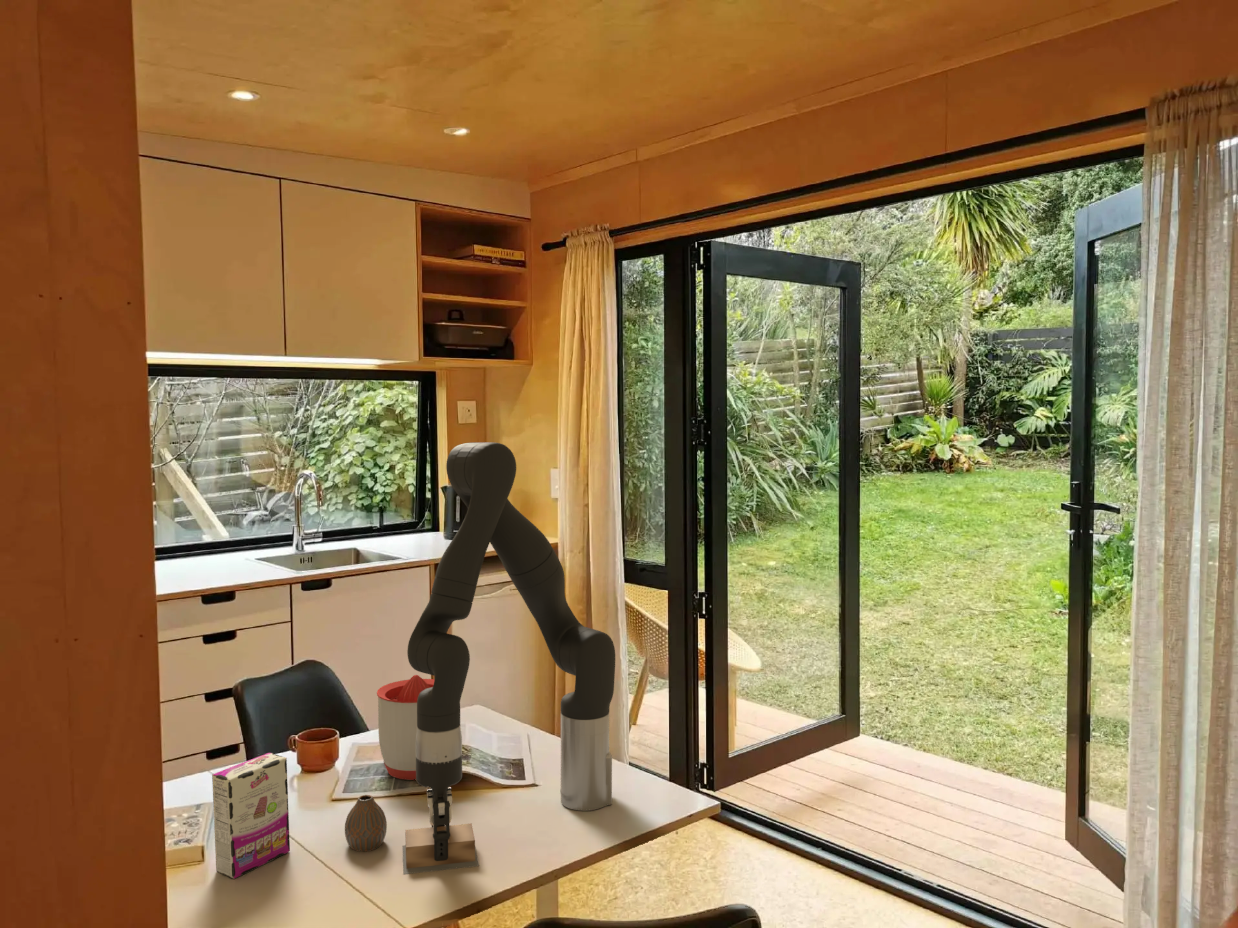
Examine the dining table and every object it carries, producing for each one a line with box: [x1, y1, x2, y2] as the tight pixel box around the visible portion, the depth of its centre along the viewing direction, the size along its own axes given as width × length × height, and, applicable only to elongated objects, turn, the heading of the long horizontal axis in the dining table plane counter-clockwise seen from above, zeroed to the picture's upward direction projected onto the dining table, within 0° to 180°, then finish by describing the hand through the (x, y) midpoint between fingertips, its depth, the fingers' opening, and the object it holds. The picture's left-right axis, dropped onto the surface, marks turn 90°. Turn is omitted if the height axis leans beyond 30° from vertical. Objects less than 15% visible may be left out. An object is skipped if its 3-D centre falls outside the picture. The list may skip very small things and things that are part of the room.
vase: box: [344, 794, 388, 852], centre depth 162 cm, size 7×7×9 cm
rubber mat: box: [402, 844, 480, 875], centre depth 158 cm, size 12×10×1 cm
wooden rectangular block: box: [404, 823, 476, 868], centre depth 158 cm, size 11×6×4 cm, turn 104°
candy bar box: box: [211, 752, 291, 880], centre depth 156 cm, size 11×5×16 cm, turn 148°
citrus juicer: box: [376, 674, 434, 781], centre depth 195 cm, size 16×17×20 cm
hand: (439, 847), depth 158 cm, fingers open, 8 cm apart
